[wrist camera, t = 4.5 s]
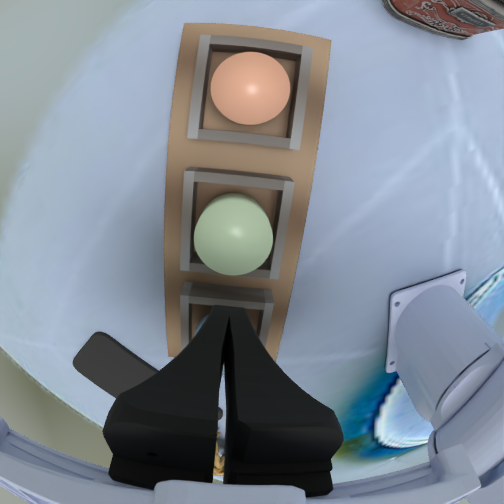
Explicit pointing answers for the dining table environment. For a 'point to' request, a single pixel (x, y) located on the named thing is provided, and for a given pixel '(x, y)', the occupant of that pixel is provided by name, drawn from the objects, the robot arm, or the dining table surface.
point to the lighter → (449, 16)
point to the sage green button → (233, 234)
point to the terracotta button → (250, 88)
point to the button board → (239, 175)
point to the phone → (113, 365)
